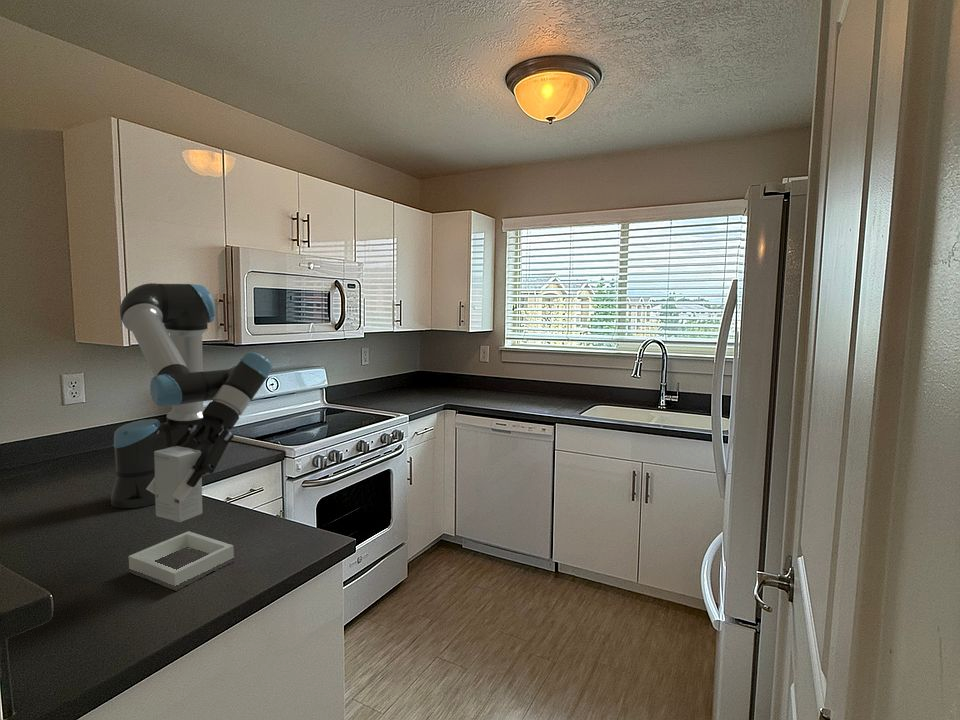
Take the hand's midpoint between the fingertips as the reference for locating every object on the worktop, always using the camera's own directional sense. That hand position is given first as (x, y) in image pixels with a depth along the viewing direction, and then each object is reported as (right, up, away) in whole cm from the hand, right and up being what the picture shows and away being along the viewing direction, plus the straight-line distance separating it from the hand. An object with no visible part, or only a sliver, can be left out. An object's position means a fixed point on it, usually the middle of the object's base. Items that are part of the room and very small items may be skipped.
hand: (164, 495), depth 113 cm
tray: (+1, -18, +5) cm, 18 cm away
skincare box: (+2, -6, +4) cm, 7 cm away
